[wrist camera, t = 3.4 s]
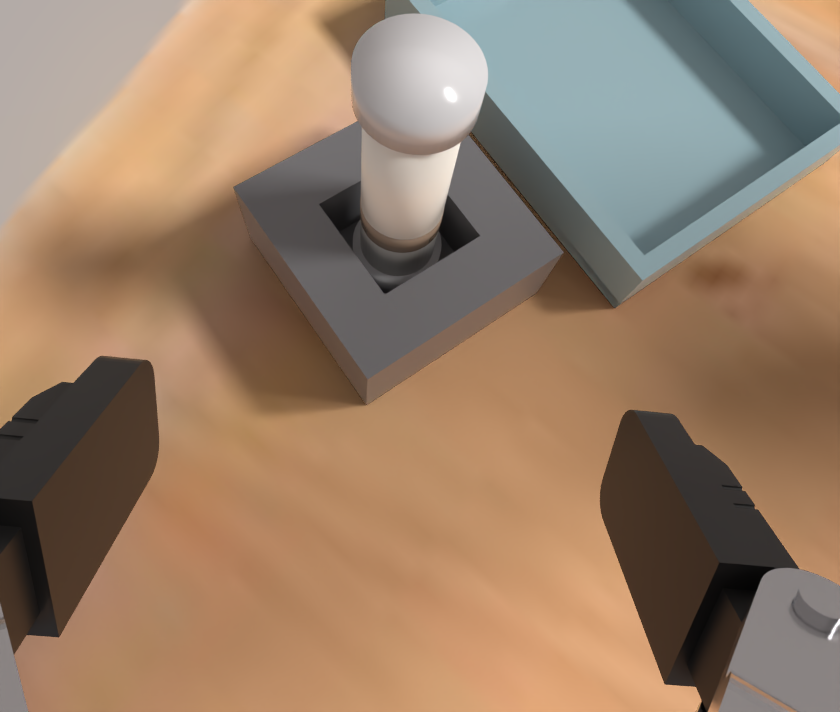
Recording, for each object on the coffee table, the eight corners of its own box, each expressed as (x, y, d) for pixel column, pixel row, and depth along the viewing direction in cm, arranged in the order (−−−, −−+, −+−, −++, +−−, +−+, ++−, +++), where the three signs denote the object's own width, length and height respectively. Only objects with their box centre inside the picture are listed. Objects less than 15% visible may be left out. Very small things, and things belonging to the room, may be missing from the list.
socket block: (418, 143, 30) (427, 84, 27) (536, 293, 29) (563, 252, 25) (250, 237, 28) (233, 187, 24) (366, 405, 26) (367, 379, 23)
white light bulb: (406, 203, 28) (436, -6, 18) (454, 267, 28) (515, 88, 17) (336, 243, 27) (324, 48, 17) (384, 310, 27) (403, 149, 16)
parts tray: (595, -80, 36) (616, -135, 33) (824, 163, 32) (869, 124, 29) (384, 25, 32) (386, -27, 29) (614, 308, 29) (643, 280, 26)
